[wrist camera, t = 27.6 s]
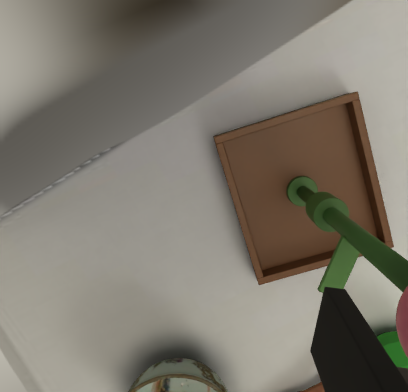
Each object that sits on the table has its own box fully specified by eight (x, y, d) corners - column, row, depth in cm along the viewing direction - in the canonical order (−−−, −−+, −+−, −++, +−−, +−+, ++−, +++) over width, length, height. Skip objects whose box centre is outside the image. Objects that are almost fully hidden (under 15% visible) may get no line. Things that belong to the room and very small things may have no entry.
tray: (213, 136, 43) (213, 137, 41) (349, 93, 42) (357, 91, 40) (256, 276, 47) (258, 285, 44) (384, 239, 45) (394, 247, 43)
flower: (288, 161, 43) (488, 275, 12) (331, 176, 43) (640, 329, 12) (264, 221, 45) (386, 466, 13) (306, 236, 45) (523, 510, 13)
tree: (283, 396, 54) (429, 351, 48) (289, 453, 47) (461, 408, 41) (257, 360, 51) (408, 308, 46) (260, 414, 44) (439, 361, 39)
